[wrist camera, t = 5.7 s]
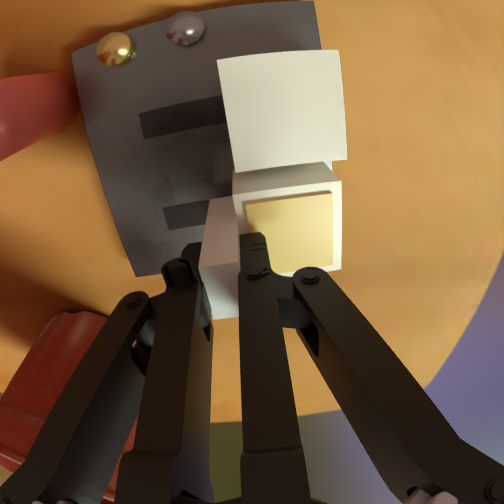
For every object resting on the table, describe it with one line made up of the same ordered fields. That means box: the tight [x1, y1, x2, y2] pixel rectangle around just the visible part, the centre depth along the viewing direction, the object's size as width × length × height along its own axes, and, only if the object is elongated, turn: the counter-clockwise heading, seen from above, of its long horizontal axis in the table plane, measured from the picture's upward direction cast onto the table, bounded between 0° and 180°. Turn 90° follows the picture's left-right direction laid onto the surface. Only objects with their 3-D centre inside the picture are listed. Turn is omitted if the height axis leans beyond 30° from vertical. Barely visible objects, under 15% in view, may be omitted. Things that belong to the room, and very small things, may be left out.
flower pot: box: [0, 311, 138, 504], centre depth 21 cm, size 16×16×16 cm
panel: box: [71, 1, 332, 277], centre depth 17 cm, size 14×16×2 cm
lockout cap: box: [0, 72, 79, 161], centre depth 12 cm, size 4×4×7 cm
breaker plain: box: [217, 50, 347, 173], centre depth 13 cm, size 5×5×4 cm
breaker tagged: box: [232, 162, 342, 277], centre depth 16 cm, size 5×5×4 cm
